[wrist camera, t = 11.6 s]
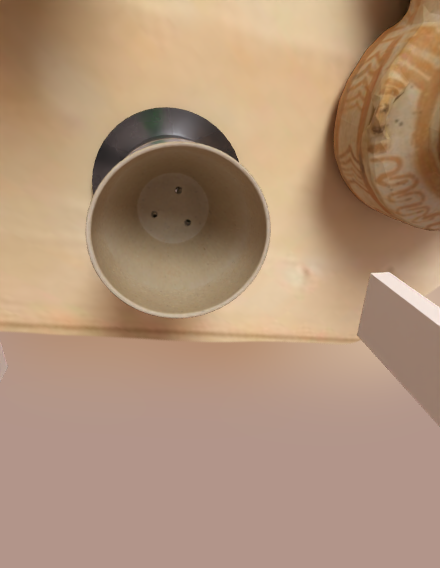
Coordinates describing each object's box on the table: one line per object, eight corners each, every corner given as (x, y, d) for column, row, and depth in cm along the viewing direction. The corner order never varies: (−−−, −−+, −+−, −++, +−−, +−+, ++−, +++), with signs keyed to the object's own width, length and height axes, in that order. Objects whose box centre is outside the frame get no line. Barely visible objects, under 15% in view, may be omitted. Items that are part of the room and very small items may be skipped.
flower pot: (192, 292, 30) (205, 344, 23) (74, 227, 26) (50, 267, 19) (269, 188, 27) (306, 213, 21) (150, 97, 23) (150, 95, 17)
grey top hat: (70, 216, 33) (49, 245, 26) (134, 73, 29) (130, 63, 22) (196, 275, 37) (207, 313, 31) (266, 159, 33) (296, 173, 27)
